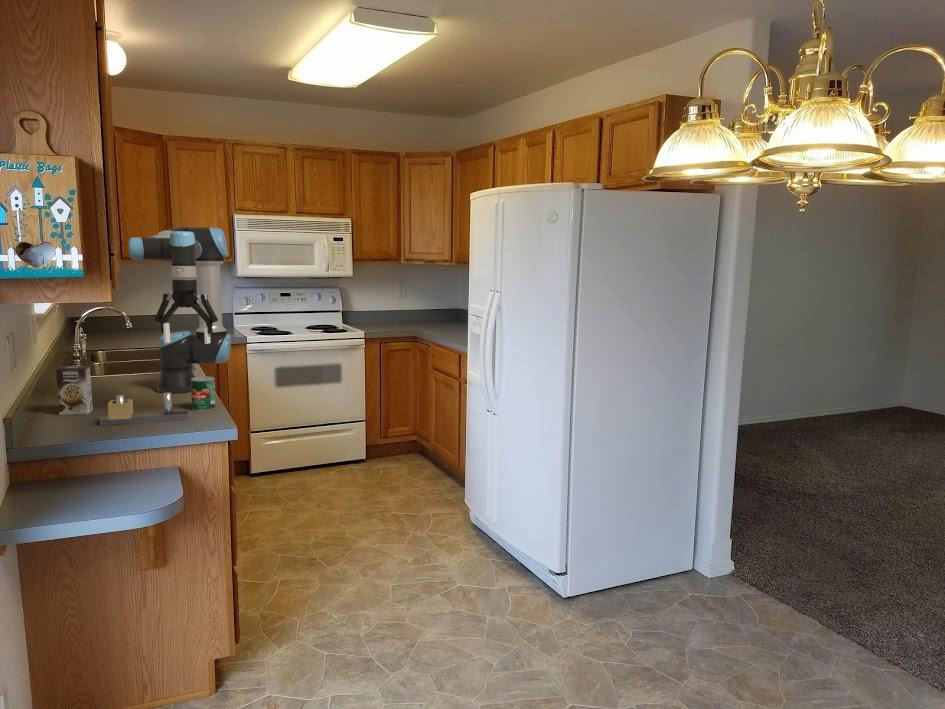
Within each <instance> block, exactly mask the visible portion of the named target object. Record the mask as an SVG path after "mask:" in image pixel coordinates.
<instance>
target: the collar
mask: <svg viewBox="0 0 945 709" xmlns="http://www.w3.org/2000/svg"><path fill="white" fill-rule="evenodd" d="M124 401H125V403H116V399H111V400H109V402H108V403H107V414H108V416H109V420H114V419H129V418H132V416H133V415H134V404H133V403H134V400H133V398H127V399H125V398H124Z"/></svg>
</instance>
